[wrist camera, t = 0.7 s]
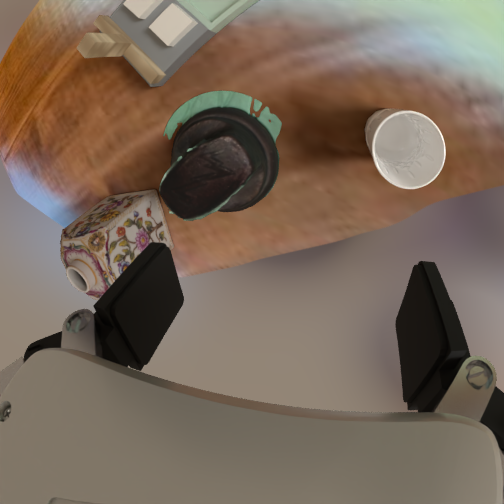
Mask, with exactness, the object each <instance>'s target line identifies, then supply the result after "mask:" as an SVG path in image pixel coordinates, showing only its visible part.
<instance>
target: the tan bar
mask: <svg viewBox="0 0 504 504" xmlns="http://www.w3.org/2000/svg"><path fill="white" fill-rule="evenodd" d="M94 24H95V26H96V27H97V28H98V29H99V30H100V31H101V32H102V33H86V34H85V36H84V37H83V39H82V40H81V42H80V44H79V45H78V47H77V49H78V51H79V52H80V53H81V54H82V55H83V57H84V58H93V57H120V56H122V55H124V56H125V57H126V58H127V59H128V60H129V61H130V62H131V64H132V65H133V66H134V67H135V68H136V69H137V70H138V71H139V72H140V73H141V74H142V76H143V77H144V78H145V79H146V80H147V81H148V82H149V83H150V84H155V83H159V82H160V81H161V80H162V79H163V78H164V77H165V75H166V74H165V73H164V72H163V71H162V70H161V69H160V68H159V67H158V66H157V65H156V64H155V63H154V62H153V61H152V60H151V58H150V57H149V56H148V55H147V54H146V53H145V52H144V51H143V50H142V49H141V48H140V47H139V46H138V45H137V44H136V43H135V42H134V41H133V40H132V39H131V38H130V37H129V36H128V35H127V34H126V33H125V32H124V31H123V30H122V29H121V28H120V27H119V26H118V25H117V24H116V23H115V22H114V21H113V20H112V19H111V18H110V17H109V16H103V15H99V16H98V18H97V19H96V20H95V22H94Z"/></svg>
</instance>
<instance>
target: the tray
mask: <svg viewBox="0 0 504 504" xmlns="http://www.w3.org/2000/svg"><path fill="white" fill-rule="evenodd" d="M177 1H178V2H179V3H180V4H181V5H183V6H184V7H185V8H186V9H187V10H188V11H189V12H191V13H192V14H193V15H194V16H195V17H196V18H197V19H198V20H199V21H201V22H202V23H203V24H204V25H205V26H206V27H207V28H208V29H209V30H210V31H212V32H215V33H218V32H219V31H220V30H221V29H222V28H224V27H225V26H226V25H227V24H228V23H230V22H231V21H232V20H234V19H235V18H236V17H237V16H239V15H240V14H241V13H243V12H244V11H245V10H247V9H248V8H249V7H251V6H252V5H254V4H255V3H256V2H258V1H259V0H177Z"/></svg>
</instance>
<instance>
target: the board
mask: <svg viewBox="0 0 504 504" xmlns="http://www.w3.org/2000/svg"><path fill="white" fill-rule="evenodd" d="M125 1H126V0H124V1H123V2H122V3H121V4H120V5H119V7H118V8H117V9H116V10H115V11H114V13H113V14H112V15H111V16H110V18H111V19H112V20H113V21H114V22H115V23H116V24H117V25H118V26H119V27H120V28H121V29H122V30H123V31H124V32H125V33H126V34H127V35H128V36H129V37H130V38H131V39H132V40H133V41H134V42H135V43H136V44H137V45H138V46H139V47H140V48H141V49H142V50H143V51H144V52H145V53H146V54H147V55H148V56H149V57H150V58H151V60H152V61H153V62H154V63H155V64H156V65H157V66H158V67H159V68H160V69H161V70H162V71H163V72H164V73H165V74H166V75H165V77H164V78H163V79H162V80H161V81H160V82H159V83H155V84H150V83H149V82H148V81H147V80H146V79H145V78H144V77H143V76H142V74H141V73H140V72H139V71H138V70H137V69H136V68H135V67H134V66H133V65H132V64H131V62H130V61H129V60H128V59H127V58H126V57H125V56H124V55H122V56H123V57H124V58H125V59H126V60H127V61H128V62H129V63H130V65H131V66H132V67H133V68H134V69H135V70H136V71H137V72H138V73H139V74H140V75H141V77H142V78H143V79H144V80H145V81H146V82H147V83H148V84H149V85H150V87H156V86H163V85H164V83H165V82H166V81H167V80H168V79H169V78H170V77H171V76H172V75H173V74H174V73H175V72H176V71H177V70H178V69H179V68H180V67H181V66H182V65H183V64H184V63H185V62H186V61H187V60H188V59H189V58H190V57H191V56H192V55H193V54H194V53H195V52H196V51H197V50H198V49H199V48H201V47H202V46H203V45H204V44H205V43H206V42H207V41H208V40H209V39H211V38H212V37H213V36H214V35H215V34H216V33H215V32H212V31H210V30H209V29H208V28H207V27H206V26H205V25H204V24H203V23H202V22H201V21H199V20H198V19H197V18H196V17H195V16H194V15H193V14H192V13H191V12H189V11H188V10H187V9H186V8H185V7H184V6H183V5H181V4H180V3H179V2H178V1H177V0H163V1H162V2H161V3H160V4H159V5H158V6H157V7H156V8H155V9H154V10H153V12H152V13H151V14H150V15H149V16H148V17H147V18H146V19H141V18H138V17H137V16H136V15H135V14H134V13H133V12H132V11H130V10H129V9H128V8H127V7H126V6H125V5H124V4H123V3H124V2H125ZM172 3H173V4H176V5H178V6H179V7H181V8H182V9H183V10H184V11H185V12H186V13H187V14H189V15H190V16H191V17H192V18H193V19H194V20H195V21H196V22H197V23H198V24H197V25H195V26H194V27H193V28H192V29H191V30H190V31H189V32H188V33H187V34H186V35H185V36H184V37H183V38H182V39H181V40H180V41H179V42H178V43H177V44H176V45H175V46H174V47H172V46H167V45H166V44H165V43H164V42H163V41H162V40H161V39H160V38H159V37H158V36H157V35H156V34H155V33H154V32H153V31H152V30H151V29H150V28H149V26H150V25H151V24H152V23H153V22H154V21H155V20H156V19H157V18H158V17H159V16H160V15H161V13H162V12H163V11H164V10H165V9H166V8H167V7H169V6H170V5H171V4H172ZM99 32H100V33H102V32H101V31H99Z"/></svg>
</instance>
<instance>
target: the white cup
mask: <svg viewBox="0 0 504 504" xmlns="http://www.w3.org/2000/svg"><path fill="white" fill-rule="evenodd" d="M364 130H365V138H366V142H367V146H368V148H369V151H370V154H371V156H372V158H373V160H374V163H375V165H376V167H377V169H378V171H379V172H380V174H381V175H382V176H383V177H384V178H385V179H386V180H387V181H388V182H390V183H391V184H393V185H395V186H397V187H400V188H405V189H416V188H420V187H423V186H425V185H427V184H429V183H430V182H432V181H433V180H434V179H435V178H436V177H437V176H438V174H439V173H440V171H441V169H442V167H443V164H444V161H445V143H444V139H443V136H442V134H441V132H440V130H439V128H438V127H437V126H436V124H435V123H434V122H433V121H432V120H431V119H429V118H428V117H426V116H425V115H423V114H421V113H418V112H415V111H409V110H403V109H387V108H386V109H383V110H379V111H376V112H375V113H374V114H373V115H372V116H371V117H369V118H368V120H367V123H366V126H365V129H364Z"/></svg>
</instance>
